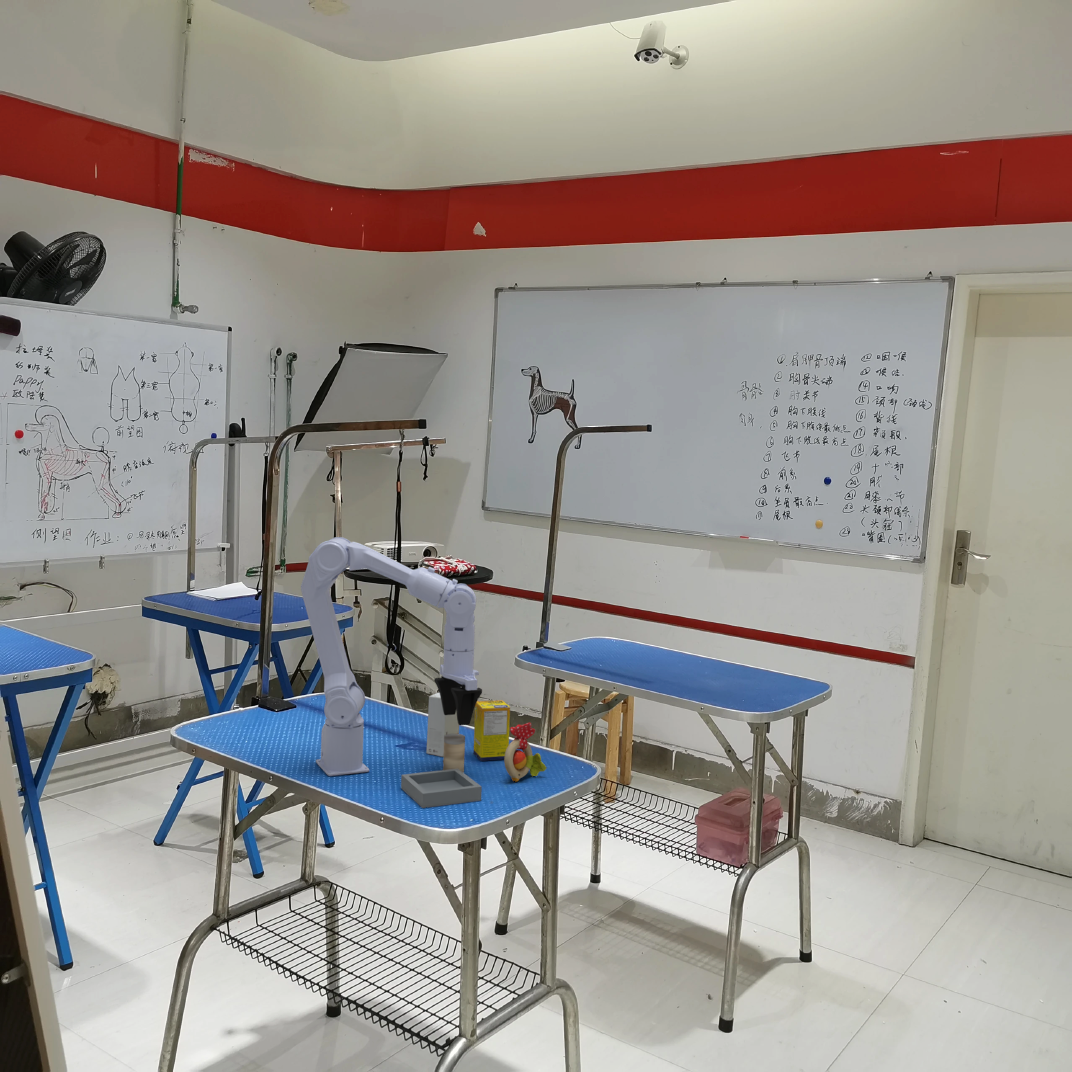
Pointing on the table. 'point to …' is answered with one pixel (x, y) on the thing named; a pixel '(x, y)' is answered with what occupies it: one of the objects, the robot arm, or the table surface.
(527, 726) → the bird rattle
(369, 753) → the table surface
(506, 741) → the supplement box
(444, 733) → the skincare box
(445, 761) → the cylinder
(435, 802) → the tray
